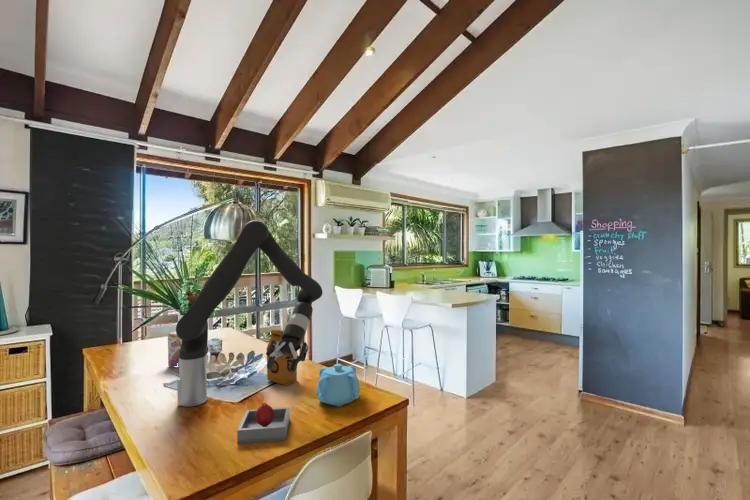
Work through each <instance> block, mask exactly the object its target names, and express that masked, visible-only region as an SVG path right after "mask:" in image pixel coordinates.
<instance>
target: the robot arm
mask: <svg viewBox="0 0 750 500" xmlns="http://www.w3.org/2000/svg"><path fill="white" fill-rule="evenodd" d="M258 249H259V250H260V251H262V252H263V253H264V254H265V256H266V257H267V258H268V259H269V260H270V262H271V263H272V264H273V266H274V267H275V269H276V270H277V271H278V272H279V274H280V275H281V276H282V277H283V278H284V279H285V280H286V282H287V283H288V284H289V285H290V286H291V287H297V286H298V287H299V288H301V289H300V290H299V291H298V293H297V295H296V298H295V307H294V308H293V311H292V313H291V315H290V318H289V319H288V320H287V322H286V326H285V327H284V328H285V329H284V330H283V331H284V333H283V335H282V339H281V341H280V342H276V341H275V340H272V342H271V344H270V346H269V348H268V350H267V349H266V353H265V355H266V357H267V356H268V357H269V360H268V363H267V362H266V369H267V368H268V369H269V370H271V369H272V367H273V364H274V362H275V359H276V358H278V357H280V356H281V355H293V357H294V359H293V360H292V363H291V366H290V368H289V370H290V371H291V372H294V371H295V370H296V367H297V368H298V364H299V363H300V362H305V361H306V357H307V354H308V350H309V345H308V343H307V342H303V341H304V339H305V336H306V333H307V330H308V328H309V323H310V320H311V317H312V315H313V311H314V309H313V307H312V303H314V302H316V301H317V300H318V299H320V298H321V297H322V296H323V289H322V286H321V285H320V283H319V282H318V281H317V280H315V279H314V278H312V277H311V276H310V275H308V274H307V273H305V272H304V271H303V270H302V269H301V267H300V266H298V264H297V263H296V262H295V261H294V260H293V259H292V258H291V257H290V255H288V254H287V253H286V251H284V249H283V248H282V247H281V246H280V245H279V243H278V242H277V241H276V239H275V238H274V237H273V235H272V233H271V232H270V230H269V228H268V226H267V224H266V223H264V222H263V221H260V220H254V219H253V220H250V221H248V222H246V223H245V225H244V226H243V228H242V230H241V231H240V234H239V236H238V238H237V239H236V241H235V243H234V244H233V246H232V247H231V249H230V250H229V251H228V253H226V255H225V256H224V257H223V259H222V260H221V261H220V262H219V264H218V265H217V266H216V268H215V269H214V270H213V271H212V273H211V274H210V275H209V277H208V279H207V281H206V282H205V284H204V285H203V287H202V289H201V290H200V292H199V293H198V296H197V298H196V299H195V300H194V302H193V303H192V305H191V306H190V307H189V308H188V309H187V311H185V312H184V314H182V316H181V317H180V319H179V320H178V321H177V323H176V326H175V332H176V334H177V336H178V337H179V338H180V339H182V344H181V348H180V350H179V368H178V370H179V371H178V372H179V377H178V379H177V380H176V381H177V383H176V384H177V385H176V386H177V388H176V389H177V394H176V395H177V406H178V407H179V406H182V407H188V408H191V407H195V406H199V405H202V404H204V403H205V402H207V400H208V399H207V398H208V391H207V390H208V389H207V388H208V387H207V386H208V385H207V383H208V382H207V381H208V380H207V379H208V378H207V348H208V341H209V340H208V339H209V337H208V336H209V331H208V329H209V328H208V327H209V324H208V319H209V318H210V317H211V315H212V313H213V312H214V311H215V309H217V308H218V306H219V305H220V304H222V302H223V301H224V300H225V299H226V297H228V295H229V294H230V293H231V292H232V290H233V289H234V288H235V286H236V284H237V283H238V281H239V280H240V279H241V276H242V274H243V273H244V271H245V269H246V266H247V264H248V262H249V260H250V259H251V257H252V256H253V255H254V253H255V252H256V251H257V250H258ZM277 346H279V347H277ZM300 349H301V350H300ZM279 350H280V351H281V352H279ZM299 350H300V353H299V354H298V351H299ZM274 355H275V356H274Z"/></svg>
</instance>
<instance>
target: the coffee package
mask: <svg viewBox="0 0 750 500" xmlns="http://www.w3.org/2000/svg"><path fill="white" fill-rule="evenodd" d="M270 333H271V335H270V338H269V341H268V344H267V347H266V351H267V350H268V348H269V346H270V344H271V342H272V340H275V341H276V342H280V341H281V339H282V335H283V333H284V330H279V329H274V328H273V329H271V330H270ZM277 347H279V346H277ZM279 352H281V351H280V350H279ZM274 356H275V355H274ZM293 359H294V357H293V355H281V356H280V357H278V358H276V359H275V362H274V364H273V367H272V369H271V370H269V369H268V368H267V367H266V375H267V377H266V378H267V379H266V380H267V381H271V382H274V383H276V384H279V385H280V384H281V385H283V386H288V385H291V384H294V383H296V382H297V381H298V378H297V377H298V373H297V372H298V371H297V370H298V366H297V367H296V370H295V371H294V372H291V371H290V370H289V368H290V366H291V363H292V360H293ZM268 360H269V357H268V356H267V355H266V364H267V363H268Z"/></svg>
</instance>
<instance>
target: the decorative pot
mask: <svg viewBox="0 0 750 500" xmlns="http://www.w3.org/2000/svg"><path fill="white" fill-rule="evenodd" d="M318 379H319V380H318V382H317V385H316V397H317V400H318V401H319V402H322V403H324V404H327V405H331V406H334V407H337V408H340V407H343V405H346V404H349V403H351V402H354V400H357V399H358V398H359V394H360V391H361V385H360V381H359V378H358V376H357V369H356V367H355V366H353V365H348V366H346V365H343V364H342V363H336V364H333V366H330V367H327V366H324V367H322V368H320V370H319V378H318Z"/></svg>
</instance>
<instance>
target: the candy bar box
mask: <svg viewBox="0 0 750 500" xmlns="http://www.w3.org/2000/svg"><path fill="white" fill-rule="evenodd" d="M181 344H182V339H180V338H179V337H178V336H177V334H176V331H172V332H168V333H167V349H168V350H167V354H168V356H167V357H168V358H167V359H168V366H177V363H178V362H179V350H180V348H181Z"/></svg>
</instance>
